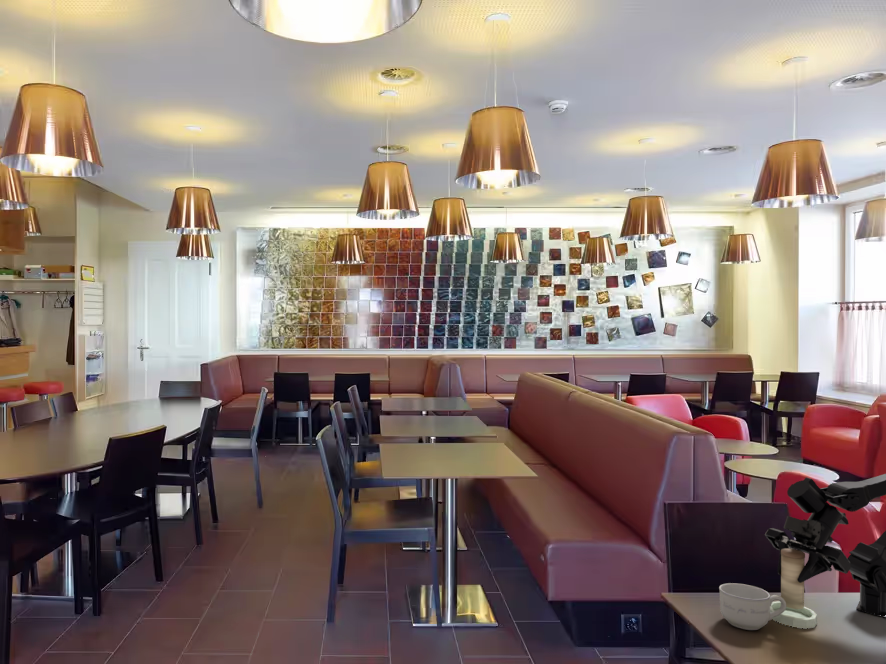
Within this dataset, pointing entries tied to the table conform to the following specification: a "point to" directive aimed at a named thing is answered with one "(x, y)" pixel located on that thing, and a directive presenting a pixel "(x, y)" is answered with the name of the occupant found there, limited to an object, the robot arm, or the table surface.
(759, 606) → the teacup
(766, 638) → the table surface
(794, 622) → the bowl
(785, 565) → the canister
